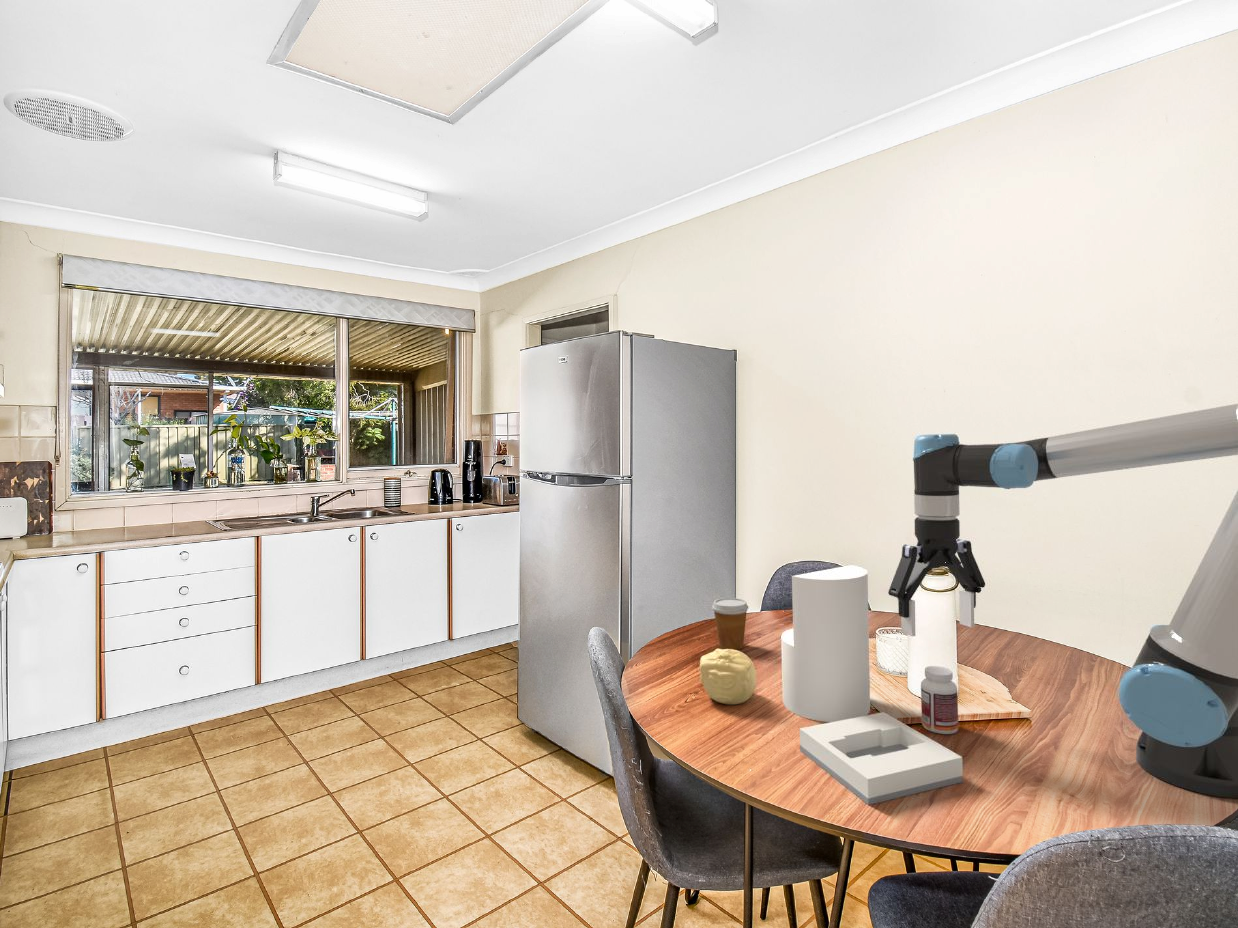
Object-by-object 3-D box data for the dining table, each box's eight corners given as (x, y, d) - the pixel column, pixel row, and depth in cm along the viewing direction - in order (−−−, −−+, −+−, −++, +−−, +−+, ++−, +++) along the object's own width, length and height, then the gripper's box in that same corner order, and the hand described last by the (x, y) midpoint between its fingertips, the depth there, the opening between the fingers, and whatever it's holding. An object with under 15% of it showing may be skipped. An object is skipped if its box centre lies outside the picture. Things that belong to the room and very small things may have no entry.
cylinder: (889, 708, 129) (886, 571, 128) (828, 730, 121) (825, 583, 119) (823, 681, 144) (820, 558, 143) (765, 699, 136) (762, 568, 135)
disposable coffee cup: (710, 651, 167) (709, 605, 167) (716, 639, 176) (714, 596, 176) (747, 653, 164) (746, 607, 164) (751, 641, 173) (749, 598, 173)
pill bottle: (963, 727, 120) (962, 669, 120) (951, 738, 116) (950, 679, 115) (928, 717, 124) (927, 661, 124) (916, 728, 120) (915, 670, 120)
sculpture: (694, 704, 134) (693, 654, 134) (713, 684, 145) (712, 637, 144) (747, 714, 129) (746, 661, 128) (763, 692, 139) (762, 643, 139)
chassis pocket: (883, 733, 119) (883, 711, 119) (962, 781, 102) (962, 757, 101) (800, 750, 113) (799, 728, 113) (868, 804, 96) (867, 778, 96)
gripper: (972, 510, 126) (974, 616, 127) (867, 519, 118) (868, 632, 119) (1006, 514, 119) (1007, 627, 120) (895, 524, 111) (897, 644, 112)
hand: (938, 629), depth 119 cm, fingers open, 13 cm apart
